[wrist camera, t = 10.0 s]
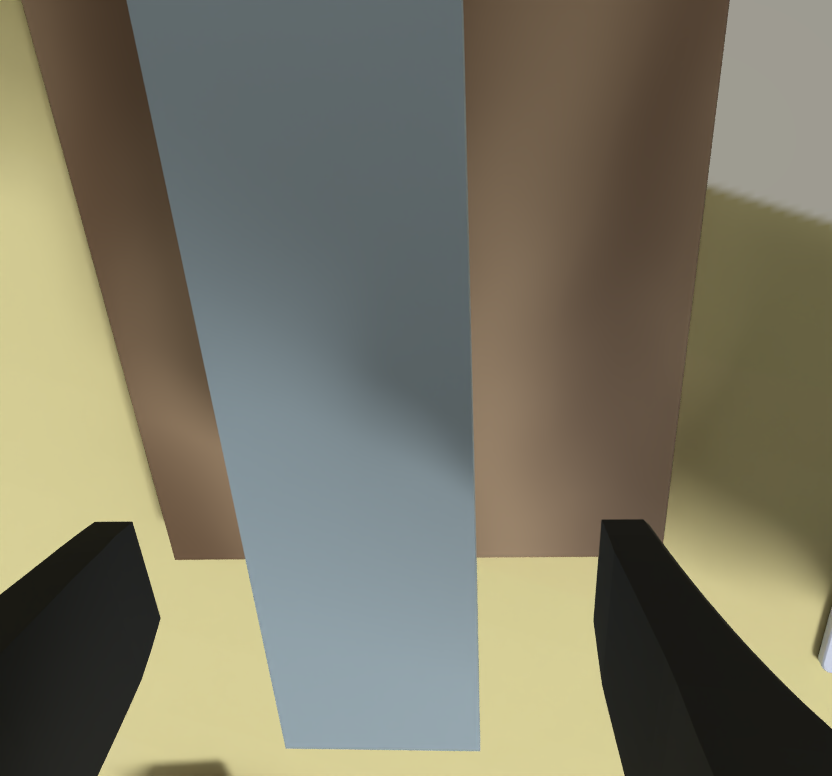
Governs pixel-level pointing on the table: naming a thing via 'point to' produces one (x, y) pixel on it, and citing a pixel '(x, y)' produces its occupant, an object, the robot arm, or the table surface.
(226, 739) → the table surface
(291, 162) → the blue-grey rectangular block
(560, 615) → the table surface
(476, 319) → the peg plate
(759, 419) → the table surface
